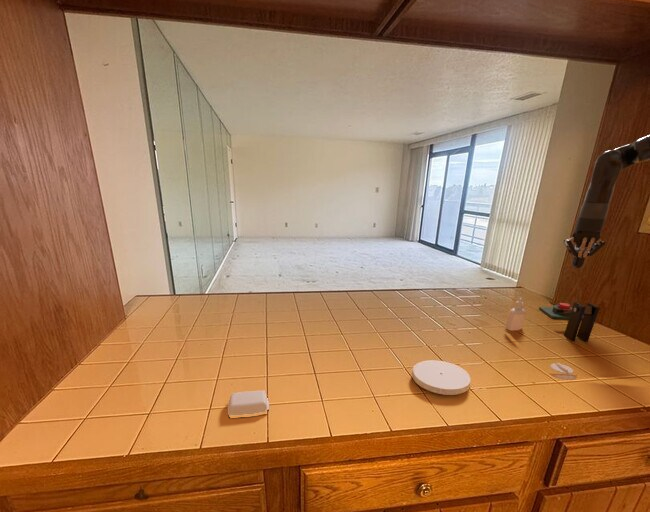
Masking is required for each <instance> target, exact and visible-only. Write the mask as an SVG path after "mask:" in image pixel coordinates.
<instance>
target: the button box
mask: <svg viewBox="0 0 650 512" xmlns="http://www.w3.org/2000/svg"><path fill="white" fill-rule="evenodd" d="M558 306H559V304H554V305H553V306H552V307H548V306H539V307H538V310H539V311H541V312H542V313H543V314H544V315H546V316H548V317H549V318H550V319H552V320H566V321H569V317H570V314H567V313H555V309H560V308H558ZM572 308H573V307H571V306H570V309H572ZM582 318H583V317H582Z"/></svg>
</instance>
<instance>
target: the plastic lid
mask: <svg viewBox="0 0 650 512" xmlns="http://www.w3.org/2000/svg"><path fill="white" fill-rule="evenodd" d="M411 377H412V379H413V381H414V382H415V384H416V385H418V386H419V387H420V388H422V389H424V390H426V391H428V392H430V393H434V394H439V395H445V396H446V395H447V396H454V395H461V394H463V393H465V392H467V391H468V390H469V389H470V386H471V382H472V378H471V375H470V374H469V372H467V371H466V369H464V368H462V367H461V366H459V365H456V364H454V363H452V362H449V361H445V360H436V359H426V360H423V361H422V360H421V361H419V362H417V363H415V364H414V366H413V367H412V372H411Z"/></svg>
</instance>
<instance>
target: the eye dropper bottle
mask: <svg viewBox="0 0 650 512" xmlns="http://www.w3.org/2000/svg"><path fill="white" fill-rule="evenodd" d="M524 305H525V302H523V298H522V297H519V299H518V300H516V301H515V302H514V307H512V308H511V309H509V311H508V314H507V318H506V321H505V322H506V323H505V325H504V332H506V333H508V334H510V332H509V331H520V330H522V329H523V324H524V322H525V317H526V313H527V311H526V309H524Z"/></svg>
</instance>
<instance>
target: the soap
mask: <svg viewBox="0 0 650 512" xmlns="http://www.w3.org/2000/svg"><path fill="white" fill-rule="evenodd" d="M266 395H267V393H266V390H264V389H260V390H248V391H246V390H245V391H239V392H232V393H231V394H230V396H229V399H230V400H229V399H228V402H229V403H228V402H227V416H228V415H243V414H254V413H259V412H265V411H267V410H268V409H269V410H270V400H269V401H268V399H269V397H268V398H267V396H268V395H267V396H266Z"/></svg>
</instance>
